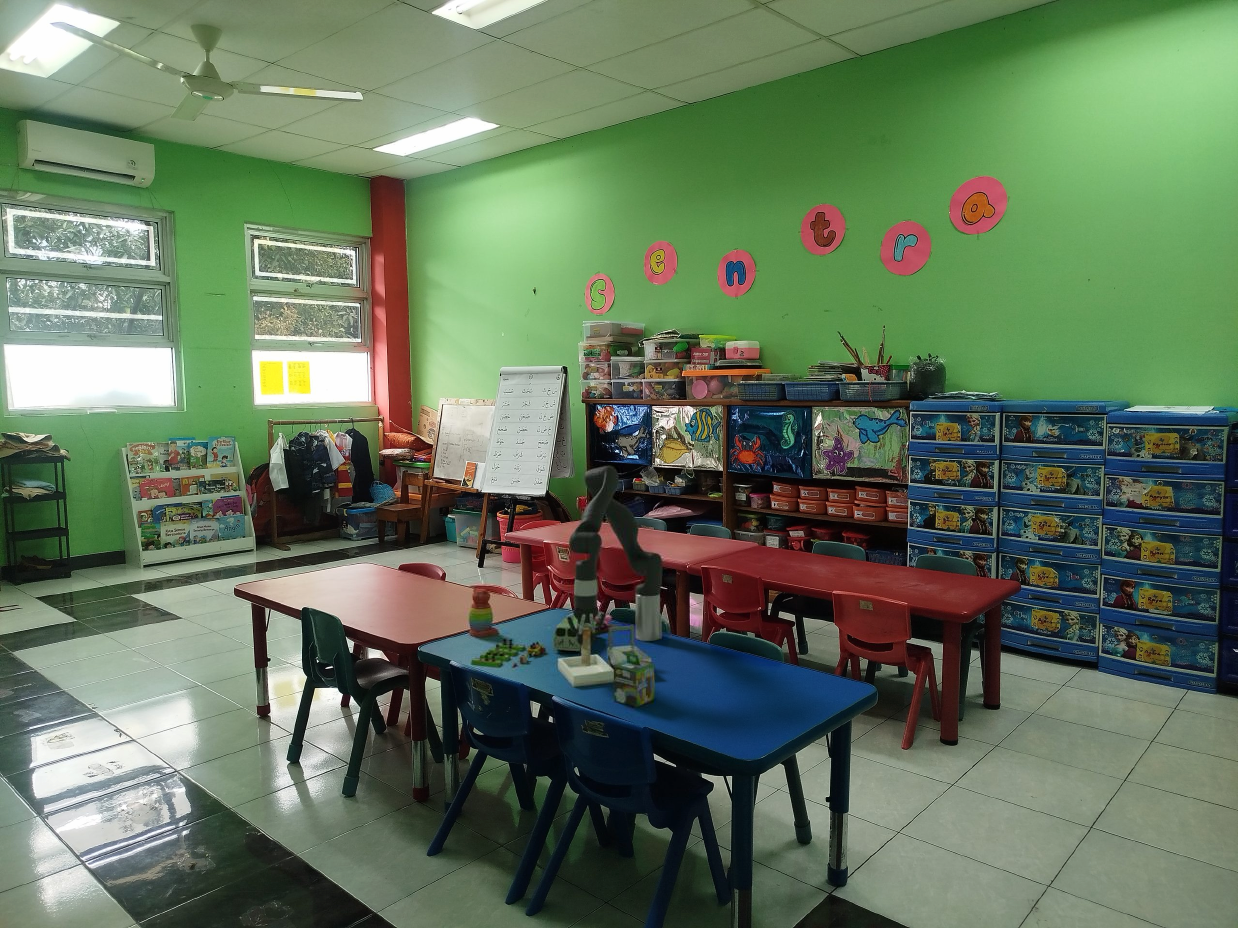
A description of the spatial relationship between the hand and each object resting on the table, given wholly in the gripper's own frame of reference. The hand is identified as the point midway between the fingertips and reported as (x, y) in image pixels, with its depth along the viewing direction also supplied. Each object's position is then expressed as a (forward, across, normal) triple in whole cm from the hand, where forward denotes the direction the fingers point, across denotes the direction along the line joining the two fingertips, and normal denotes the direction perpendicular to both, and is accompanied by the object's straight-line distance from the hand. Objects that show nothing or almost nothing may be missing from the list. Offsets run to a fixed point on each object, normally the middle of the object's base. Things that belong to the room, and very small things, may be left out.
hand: (585, 643), depth 274 cm
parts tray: (+11, 0, 0) cm, 11 cm away
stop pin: (+7, 0, 0) cm, 7 cm away
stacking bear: (+11, +24, -61) cm, 66 cm away
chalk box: (+11, -7, +27) cm, 30 cm away
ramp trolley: (+11, -15, 0) cm, 18 cm away
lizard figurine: (+11, -20, -53) cm, 58 cm away
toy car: (+11, -7, -35) cm, 37 cm away
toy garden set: (+11, +20, -27) cm, 35 cm away
